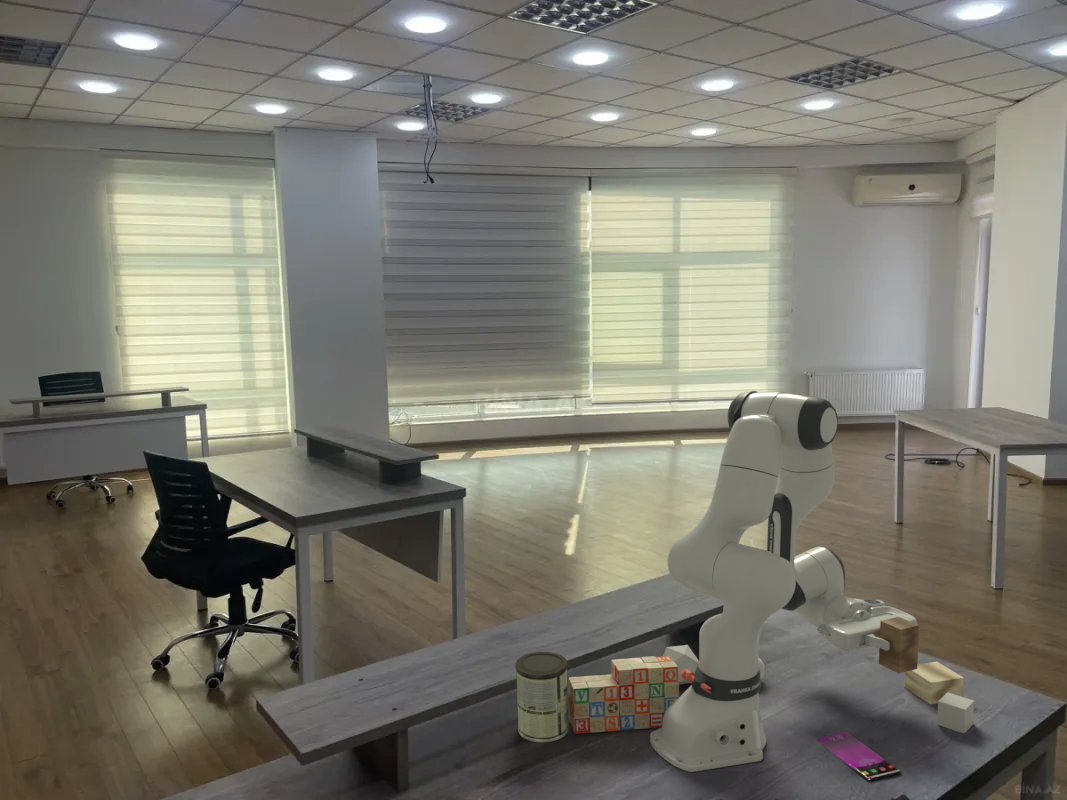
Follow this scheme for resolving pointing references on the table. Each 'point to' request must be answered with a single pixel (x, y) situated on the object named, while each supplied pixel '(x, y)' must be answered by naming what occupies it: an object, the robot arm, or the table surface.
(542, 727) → the coffee can
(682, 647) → the white polyhedron
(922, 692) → the oak block
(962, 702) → the grey cube
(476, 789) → the table surface
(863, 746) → the smartphone
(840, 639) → the robot arm
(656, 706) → the stack of blocks
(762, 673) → the white sphere
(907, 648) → the walnut block
